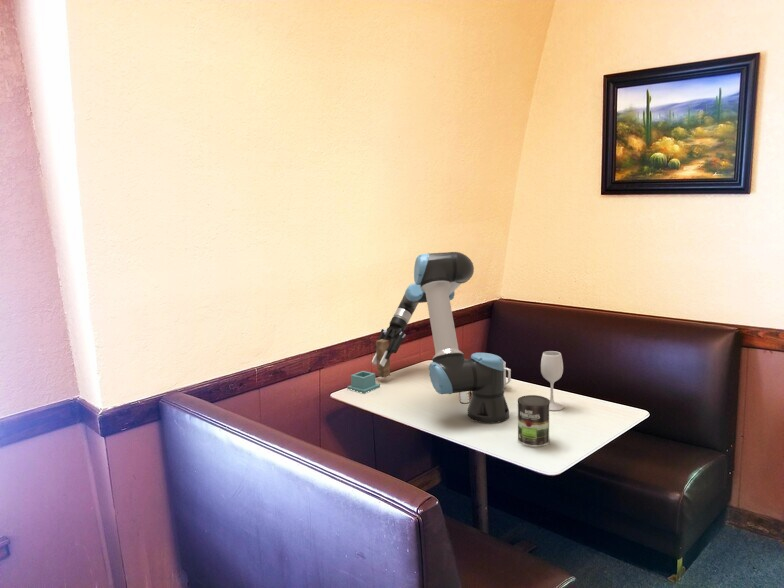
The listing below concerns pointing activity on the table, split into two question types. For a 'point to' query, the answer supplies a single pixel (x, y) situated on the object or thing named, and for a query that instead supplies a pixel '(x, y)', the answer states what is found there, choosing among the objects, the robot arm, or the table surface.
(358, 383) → the teal square socket
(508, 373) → the mug
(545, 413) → the coffee can
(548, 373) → the wineglass
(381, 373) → the post
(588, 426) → the table surface
